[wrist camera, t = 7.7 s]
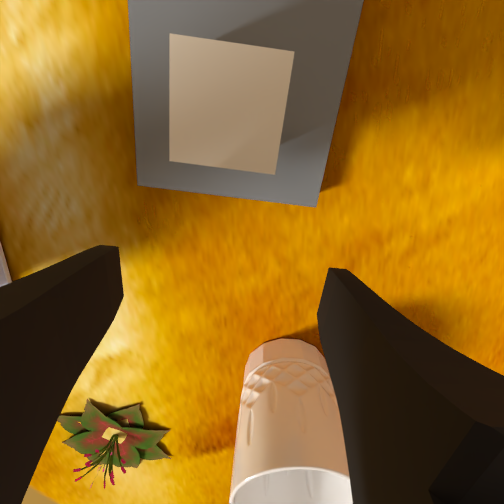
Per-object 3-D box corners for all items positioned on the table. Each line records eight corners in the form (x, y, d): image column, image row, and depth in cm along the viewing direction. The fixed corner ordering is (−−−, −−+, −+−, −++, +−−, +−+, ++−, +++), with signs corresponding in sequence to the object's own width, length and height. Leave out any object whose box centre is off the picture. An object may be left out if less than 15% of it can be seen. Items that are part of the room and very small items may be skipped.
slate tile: (148, 175, 19) (137, 185, 18) (141, -40, 15) (125, -57, 13) (310, 195, 20) (316, 207, 18) (355, -8, 15) (368, -19, 13)
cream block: (193, 139, 16) (169, 161, 12) (196, 47, 14) (169, 33, 10) (270, 149, 16) (274, 174, 12) (283, 59, 15) (294, 51, 10)
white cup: (285, 315, 24) (301, 448, 15) (352, 365, 27) (398, 506, 18) (219, 367, 27) (201, 506, 18) (285, 409, 30) (296, 549, 21)
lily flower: (190, 458, 34) (181, 508, 30) (89, 468, 36) (67, 517, 32) (151, 384, 29) (134, 433, 25) (33, 399, 30) (-2, 449, 26)
